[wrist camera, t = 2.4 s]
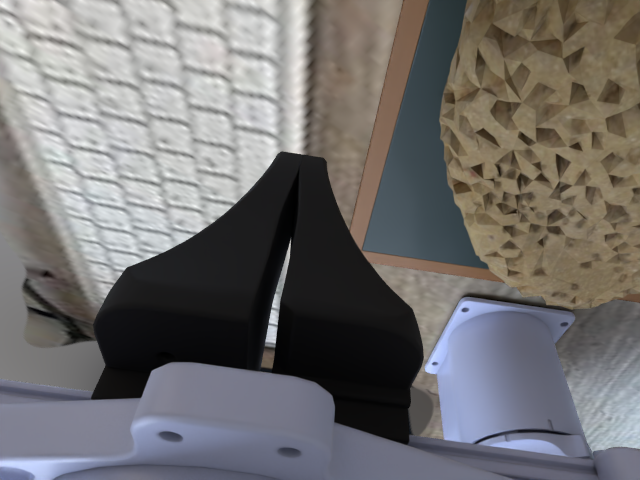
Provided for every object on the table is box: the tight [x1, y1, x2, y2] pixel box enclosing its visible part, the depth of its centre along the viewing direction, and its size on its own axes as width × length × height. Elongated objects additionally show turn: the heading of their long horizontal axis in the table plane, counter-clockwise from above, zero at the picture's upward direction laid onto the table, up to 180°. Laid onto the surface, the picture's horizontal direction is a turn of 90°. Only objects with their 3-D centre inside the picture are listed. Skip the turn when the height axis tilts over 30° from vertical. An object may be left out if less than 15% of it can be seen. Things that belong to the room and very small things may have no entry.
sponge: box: [439, 0, 640, 310], centre depth 19 cm, size 13×8×20 cm
